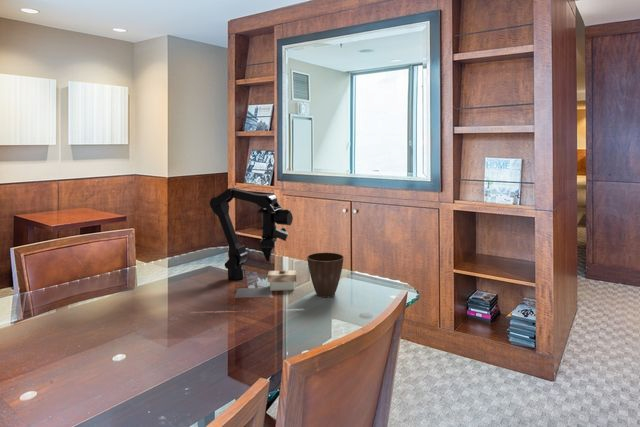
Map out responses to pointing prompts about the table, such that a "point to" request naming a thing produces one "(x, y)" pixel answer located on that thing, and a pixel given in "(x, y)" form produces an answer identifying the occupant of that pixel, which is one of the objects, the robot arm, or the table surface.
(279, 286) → the dish
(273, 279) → the lid
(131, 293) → the table surface
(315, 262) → the plant pot
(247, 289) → the mat
